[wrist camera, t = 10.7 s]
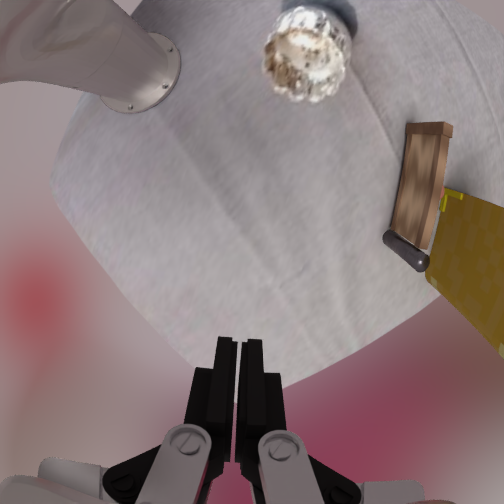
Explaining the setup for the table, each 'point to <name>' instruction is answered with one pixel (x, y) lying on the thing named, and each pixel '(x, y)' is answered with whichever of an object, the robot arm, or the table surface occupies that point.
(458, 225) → the book
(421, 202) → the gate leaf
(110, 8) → the robot arm
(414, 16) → the table surface
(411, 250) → the gate post
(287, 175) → the table surface
